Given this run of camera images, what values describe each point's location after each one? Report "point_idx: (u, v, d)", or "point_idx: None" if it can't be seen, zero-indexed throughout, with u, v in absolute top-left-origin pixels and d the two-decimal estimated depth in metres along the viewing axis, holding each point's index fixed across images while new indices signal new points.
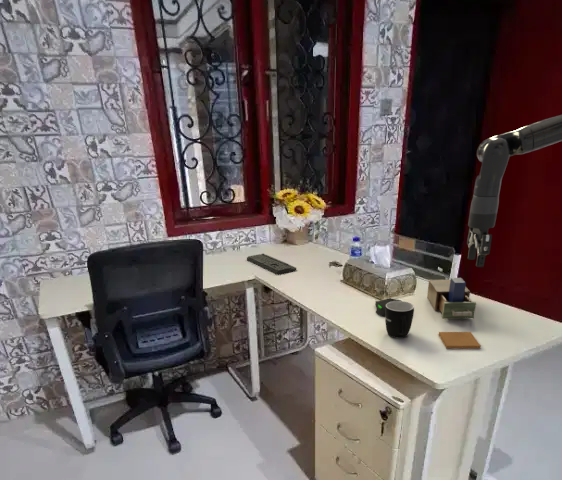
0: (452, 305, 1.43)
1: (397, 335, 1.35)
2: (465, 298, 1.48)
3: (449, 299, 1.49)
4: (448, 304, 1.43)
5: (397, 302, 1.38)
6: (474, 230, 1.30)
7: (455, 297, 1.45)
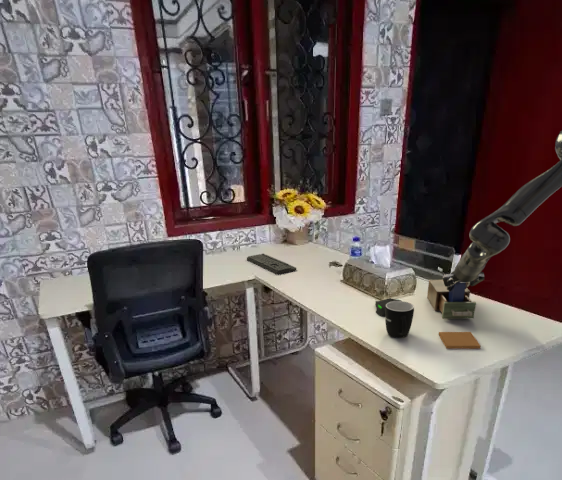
0: (452, 305, 1.43)
1: (397, 335, 1.35)
2: (465, 298, 1.48)
3: (449, 299, 1.49)
4: (448, 304, 1.43)
5: (397, 302, 1.38)
6: None
7: (455, 297, 1.45)
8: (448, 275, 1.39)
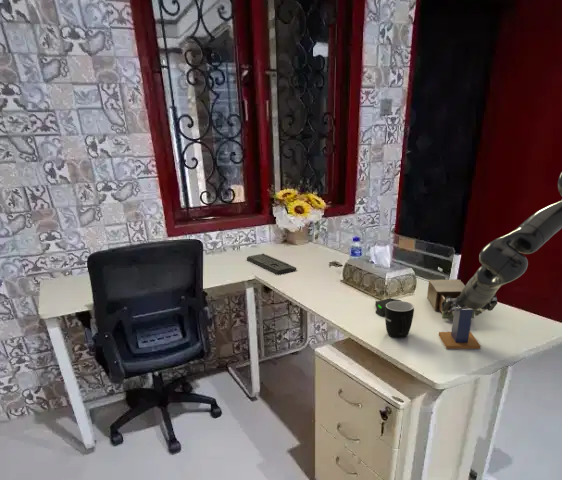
0: (452, 305, 1.43)
1: (397, 335, 1.35)
2: None
3: (453, 327, 1.30)
4: None
5: (397, 302, 1.38)
6: None
7: (461, 326, 1.26)
8: (454, 299, 1.20)
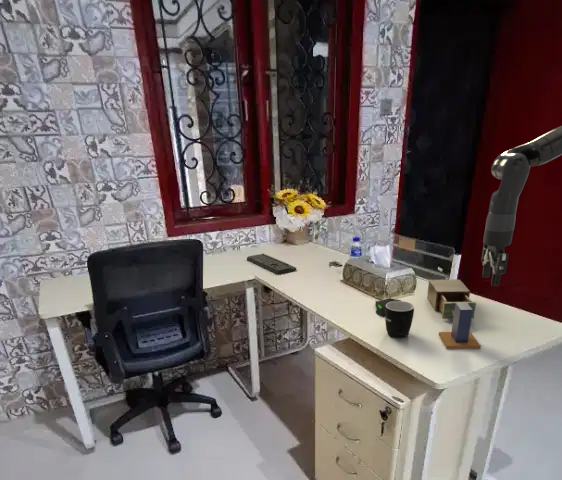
0: (452, 305, 1.43)
1: (397, 335, 1.35)
2: (465, 298, 1.48)
3: (453, 327, 1.30)
4: (448, 304, 1.43)
5: (397, 302, 1.38)
6: (489, 247, 1.25)
7: (461, 326, 1.26)
8: None
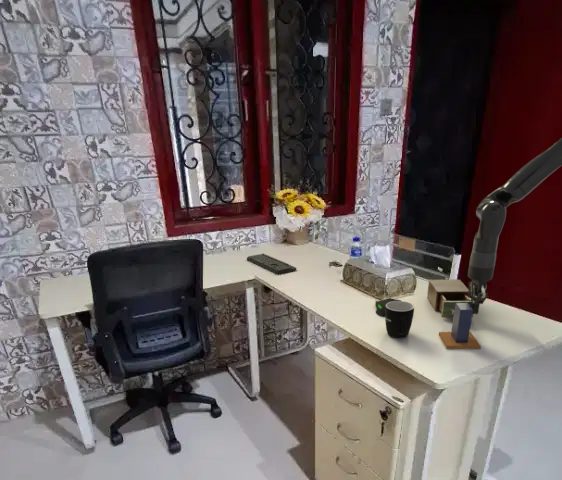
0: (451, 304, 1.44)
1: (397, 335, 1.35)
2: (464, 297, 1.49)
3: (453, 327, 1.30)
4: (447, 303, 1.44)
5: (397, 302, 1.38)
6: (473, 280, 1.39)
7: (461, 326, 1.26)
8: None
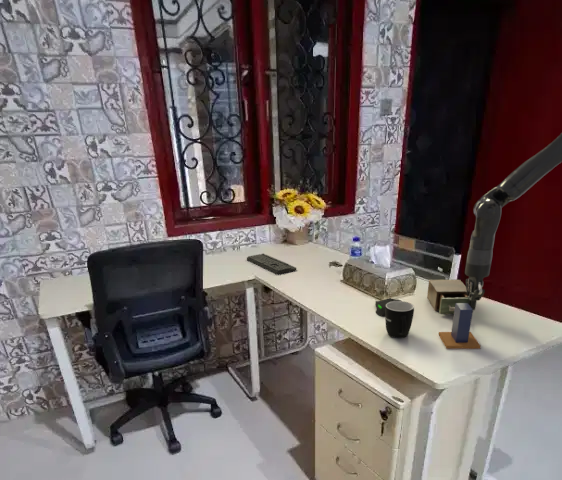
0: (449, 300, 1.47)
1: (397, 335, 1.35)
2: (462, 294, 1.52)
3: (453, 327, 1.30)
4: (445, 300, 1.47)
5: (397, 302, 1.38)
6: (470, 277, 1.42)
7: (461, 326, 1.26)
8: None
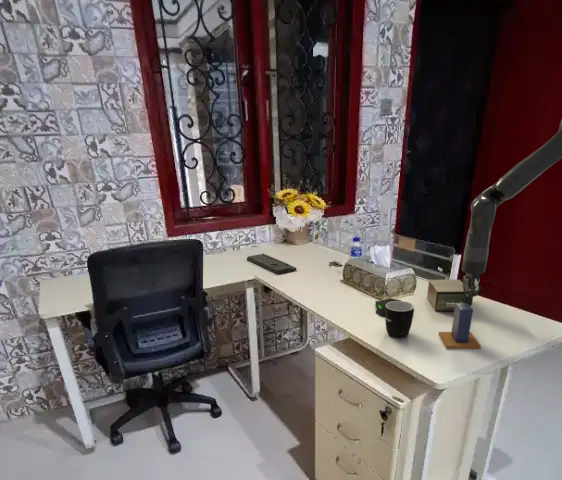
0: (446, 297, 1.50)
1: (397, 335, 1.35)
2: None
3: (453, 327, 1.30)
4: (442, 296, 1.50)
5: (397, 302, 1.38)
6: (467, 274, 1.45)
7: (461, 326, 1.26)
8: None
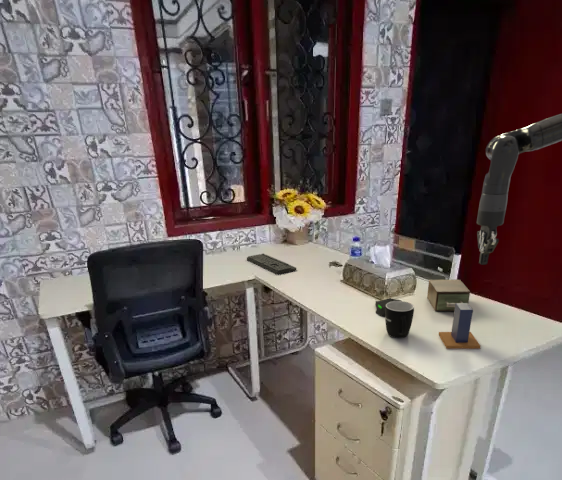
0: (446, 297, 1.50)
1: (397, 335, 1.35)
2: None
3: (453, 327, 1.30)
4: (442, 296, 1.50)
5: (397, 302, 1.38)
6: (482, 228, 1.31)
7: (461, 326, 1.26)
8: None
